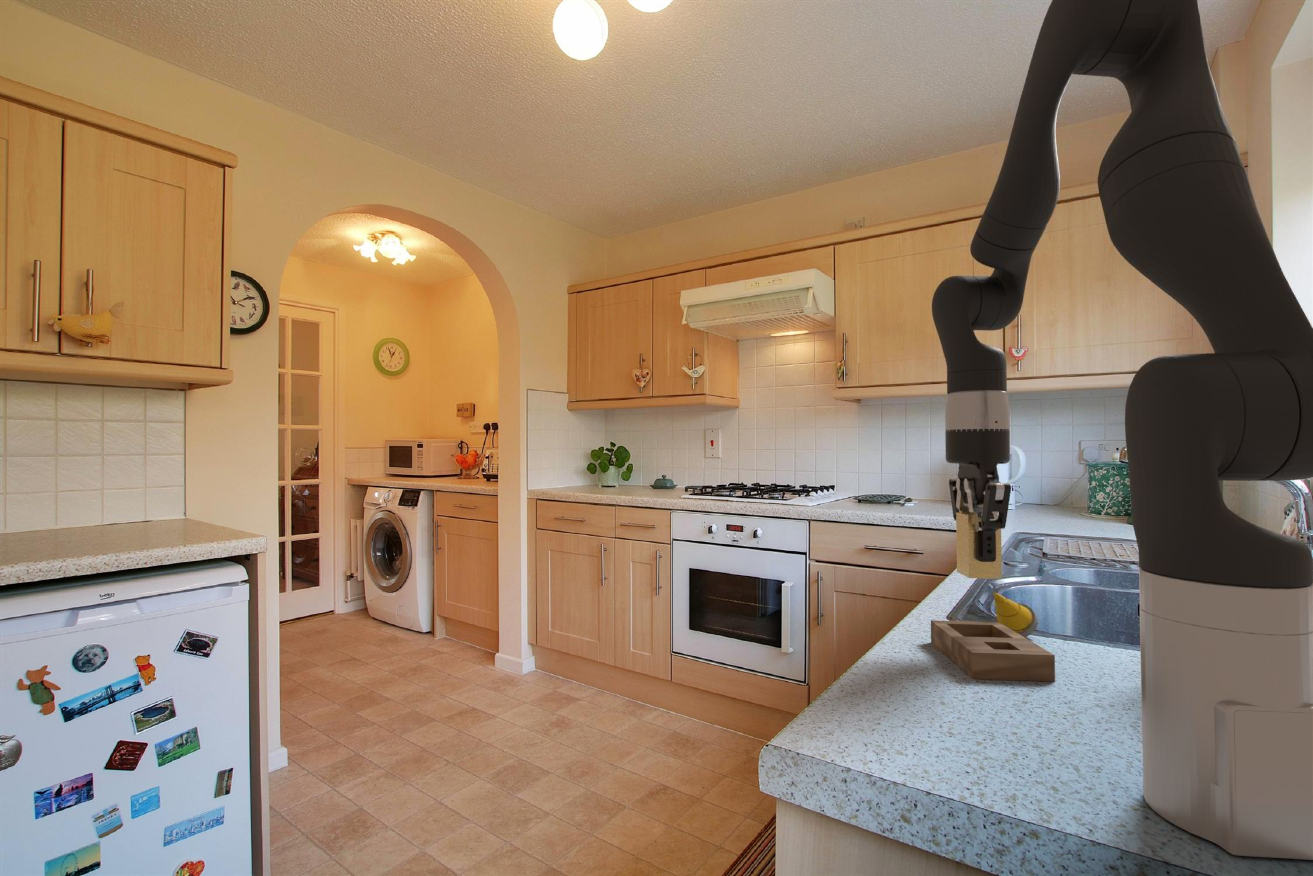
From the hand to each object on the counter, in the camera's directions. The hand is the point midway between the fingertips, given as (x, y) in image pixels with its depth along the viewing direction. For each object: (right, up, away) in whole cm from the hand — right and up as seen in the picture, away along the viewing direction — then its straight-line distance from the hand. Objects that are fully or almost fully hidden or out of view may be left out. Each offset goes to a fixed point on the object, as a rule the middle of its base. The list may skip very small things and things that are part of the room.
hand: (978, 557), depth 81 cm
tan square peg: (0, -2, 0) cm, 2 cm away
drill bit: (+9, -13, +6) cm, 17 cm away
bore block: (0, -12, -3) cm, 13 cm away
